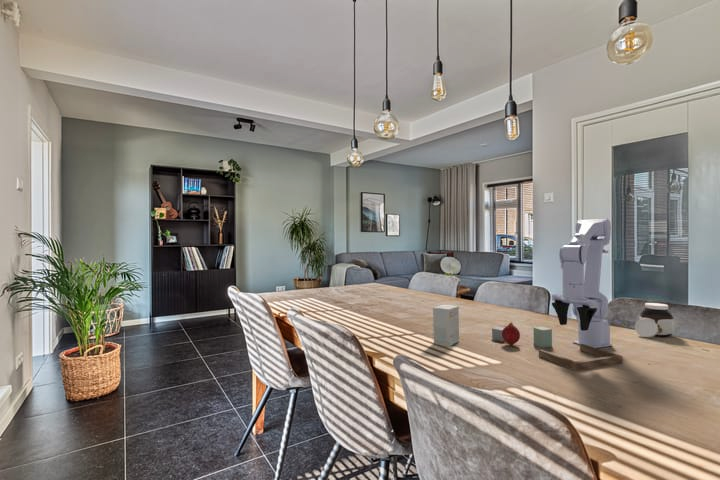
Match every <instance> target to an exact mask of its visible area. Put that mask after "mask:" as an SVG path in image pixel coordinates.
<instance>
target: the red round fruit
mask: <svg viewBox="0 0 720 480" xmlns="http://www.w3.org/2000/svg"><path fill="white" fill-rule="evenodd" d="M503 328H504V329H503V331H502V337H503V339H504V342H505V343H506V344H508V345H509V346H514V344H515V345H516V343H518V342H519V340H520V338H521V333H520V331H519V328H517V327H516V326H515V325H514V324H513V322H511V321H510V322H509V323H508V325H505V326H504V327H503Z"/></svg>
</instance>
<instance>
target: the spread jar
mask: <svg viewBox="0 0 720 480" xmlns="http://www.w3.org/2000/svg"><path fill="white" fill-rule="evenodd" d="M634 330H635V332H636V333H637V334H638V335H639V336H641V337H643V338H652V337H653V338H669V337H671V336H672V335H673V334H674V332H675V319H674V315H673V313H672V312H671V311H670V310H669V305H668V304H666V303H661V302H660V303H659V302H645V304H644V309H642V310H641V312H640V313H639V319H638V320H636V322H635V323H634Z"/></svg>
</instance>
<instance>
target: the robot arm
mask: <svg viewBox="0 0 720 480" xmlns="http://www.w3.org/2000/svg"><path fill="white" fill-rule="evenodd" d="M611 225H612V224H611V220H609V218H601V219H600V218H598V219H597V218H595V219H578V220H577V221H576V223H575V234H574V235H573V236H571V237H570V239H569V241H568V243H567V244H564V245H562V246H561V247H560V249H559V254H558V255H559V256H558V257H559V261H560V268H561V269H562V294H551V301H554V302H551V306H552V308H553V309H554V311H555V313H556V315H557V318H558V322H559V326H565V325H567V323H568V311H569V307H570V304H571V305H572V306H571V307H572V314H573V315H574V316H575V317H576V319H577V320H578V321H577V322H578V323H577V324H578V327H577V328H578V329H577V331H578V339H577V340H572V343H574V344H577V345H580V344H585V345H588V346H591V347H594V348H598V349H600V348H606V347H612V346H613V344H612V343H611V327H610V324H609V322H608V320H606V319H607V318H608V316H609V300H608V297H607V296H606V295H604V294H603V293H602V292H601V291H600V285H601V273H602V271H601V270H602V261H603V260H602V258H603V252H604V251H603V250H604V247H605V246H607V245H609V244H610V241H611V233H612V232H611V230H612V226H611ZM584 264H585V265H584ZM584 267H585V269H584Z"/></svg>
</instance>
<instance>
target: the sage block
mask: <svg viewBox="0 0 720 480" xmlns="http://www.w3.org/2000/svg"><path fill="white" fill-rule="evenodd" d="M533 345H534V346H536V347H539V348H542V349H545V348H551V347H553V329H552V328H549V327H545V326H535V327H533Z"/></svg>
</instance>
